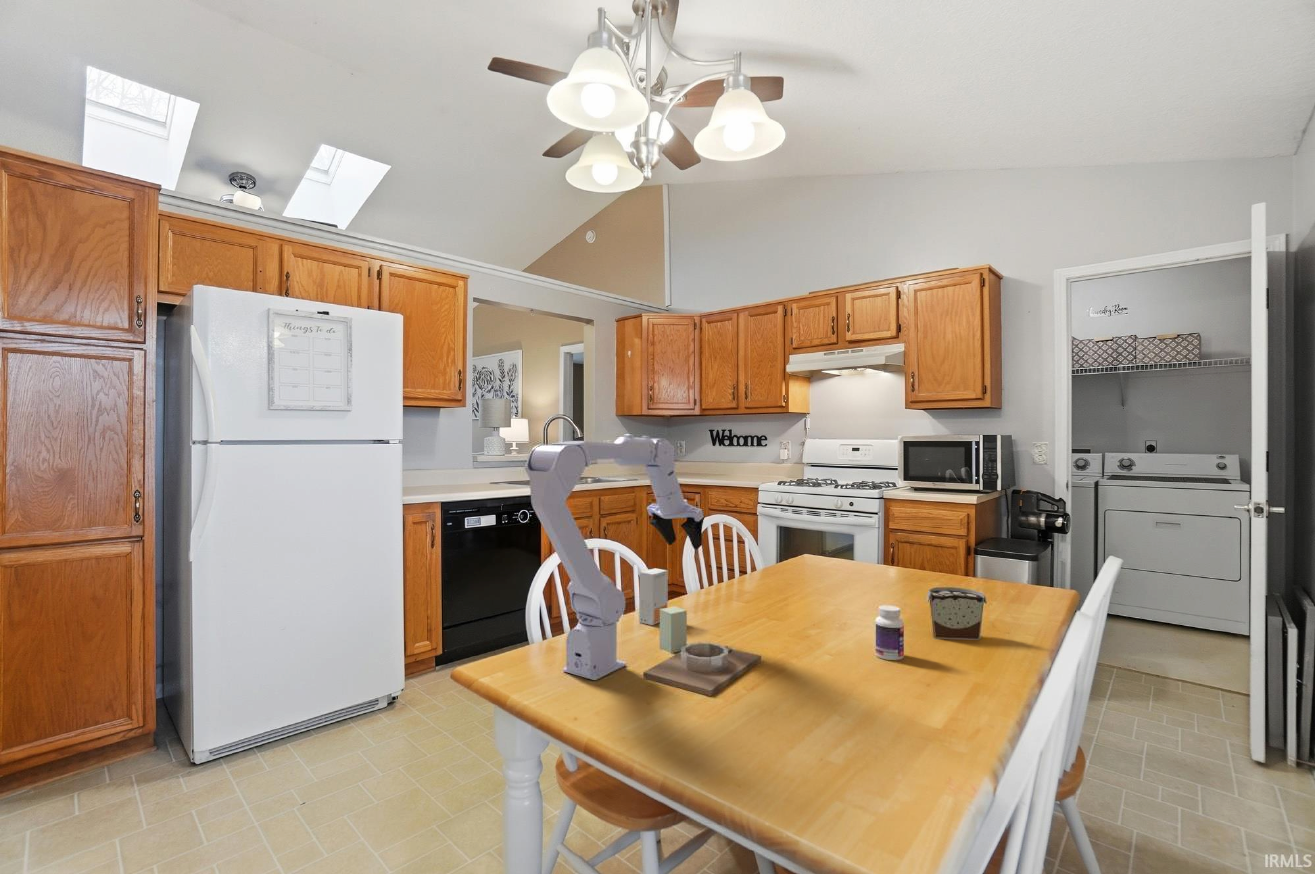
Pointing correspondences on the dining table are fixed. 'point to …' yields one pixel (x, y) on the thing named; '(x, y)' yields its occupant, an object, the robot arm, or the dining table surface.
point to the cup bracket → (702, 667)
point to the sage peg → (673, 629)
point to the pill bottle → (889, 633)
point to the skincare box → (652, 595)
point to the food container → (956, 612)
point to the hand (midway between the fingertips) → (685, 544)
